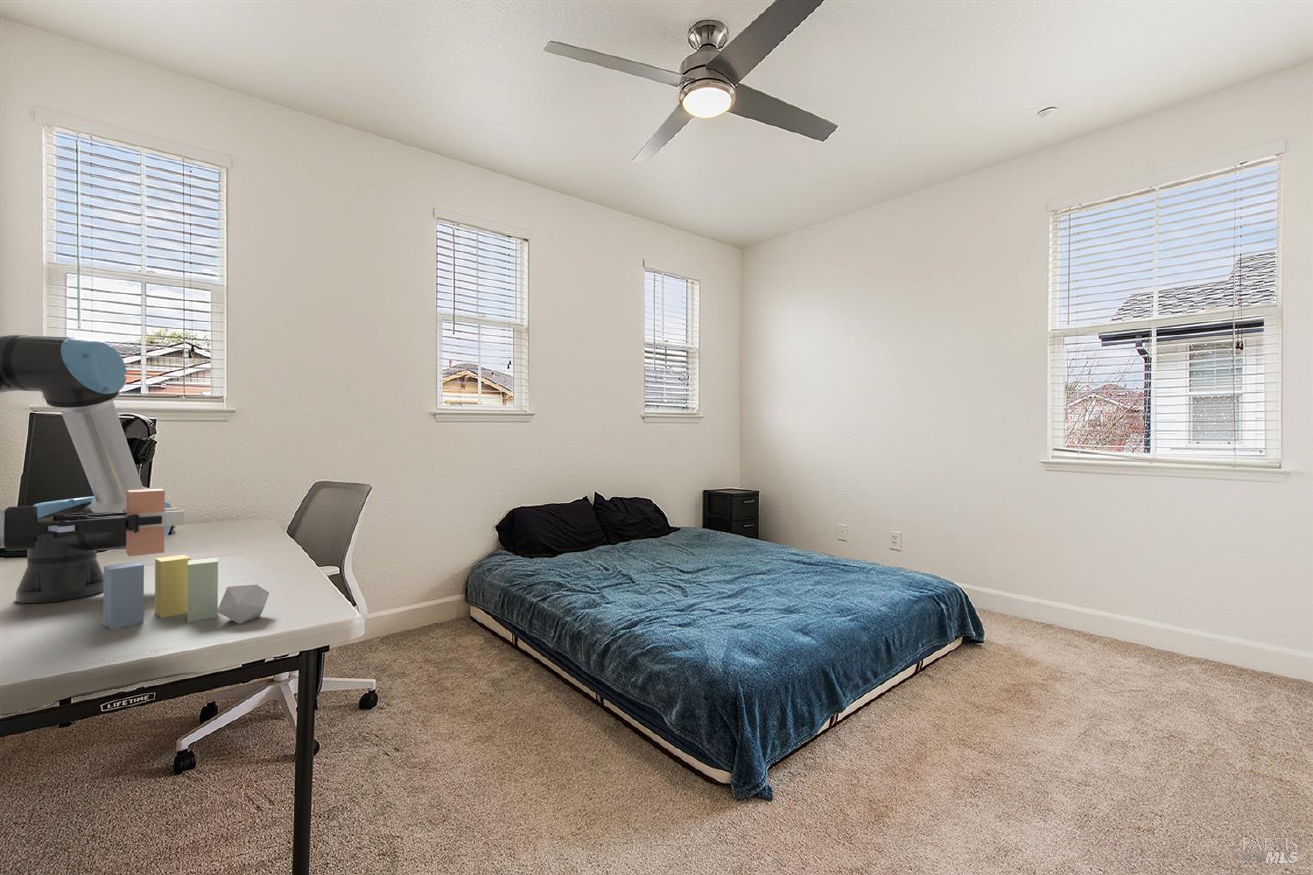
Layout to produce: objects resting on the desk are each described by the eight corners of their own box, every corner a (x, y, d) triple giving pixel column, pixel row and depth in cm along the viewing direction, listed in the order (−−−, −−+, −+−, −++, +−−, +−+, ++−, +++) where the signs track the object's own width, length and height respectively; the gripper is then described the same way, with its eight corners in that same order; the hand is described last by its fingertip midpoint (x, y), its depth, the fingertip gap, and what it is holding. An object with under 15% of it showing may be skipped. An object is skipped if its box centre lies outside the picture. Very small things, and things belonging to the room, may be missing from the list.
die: (274, 622, 120) (280, 580, 126) (238, 613, 113) (246, 568, 119) (241, 634, 121) (249, 591, 127) (203, 625, 114) (213, 581, 120)
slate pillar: (103, 624, 116) (103, 566, 116) (135, 617, 121) (135, 561, 121) (111, 629, 114) (111, 569, 114) (143, 622, 118) (143, 564, 118)
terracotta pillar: (126, 552, 109) (126, 490, 109) (160, 548, 113) (160, 488, 112) (128, 556, 105) (129, 492, 105) (164, 552, 109) (164, 490, 109)
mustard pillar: (154, 613, 124) (155, 558, 124) (183, 607, 128) (184, 554, 128) (160, 617, 121) (160, 561, 121) (190, 612, 125) (190, 557, 125)
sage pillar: (187, 615, 122) (187, 560, 122) (216, 611, 125) (217, 557, 125) (187, 621, 118) (187, 564, 118) (217, 617, 122) (218, 561, 121)
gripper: (5, 544, 102) (173, 529, 119) (0, 559, 90) (188, 540, 107) (5, 502, 102) (174, 493, 119) (0, 512, 90) (189, 501, 107)
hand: (180, 515), depth 113 cm, fingers closed on terracotta pillar, 5 cm apart
